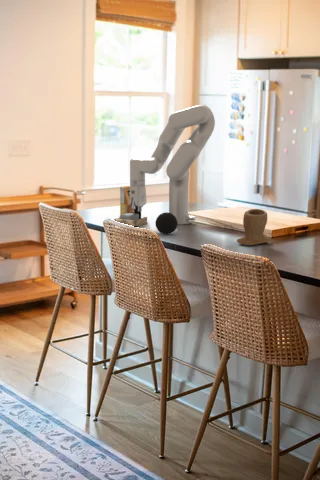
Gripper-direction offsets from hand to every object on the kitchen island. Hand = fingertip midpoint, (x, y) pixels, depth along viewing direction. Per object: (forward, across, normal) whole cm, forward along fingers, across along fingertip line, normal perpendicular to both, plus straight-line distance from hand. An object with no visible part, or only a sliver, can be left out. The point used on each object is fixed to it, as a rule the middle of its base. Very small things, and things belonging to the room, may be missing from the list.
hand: (137, 219), depth 362 cm
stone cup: (+1, -29, -72) cm, 77 cm away
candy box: (+2, +17, +14) cm, 22 cm away
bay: (+1, -8, 0) cm, 8 cm away
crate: (+1, -6, +1) cm, 7 cm away
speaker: (+1, -24, -28) cm, 37 cm away
